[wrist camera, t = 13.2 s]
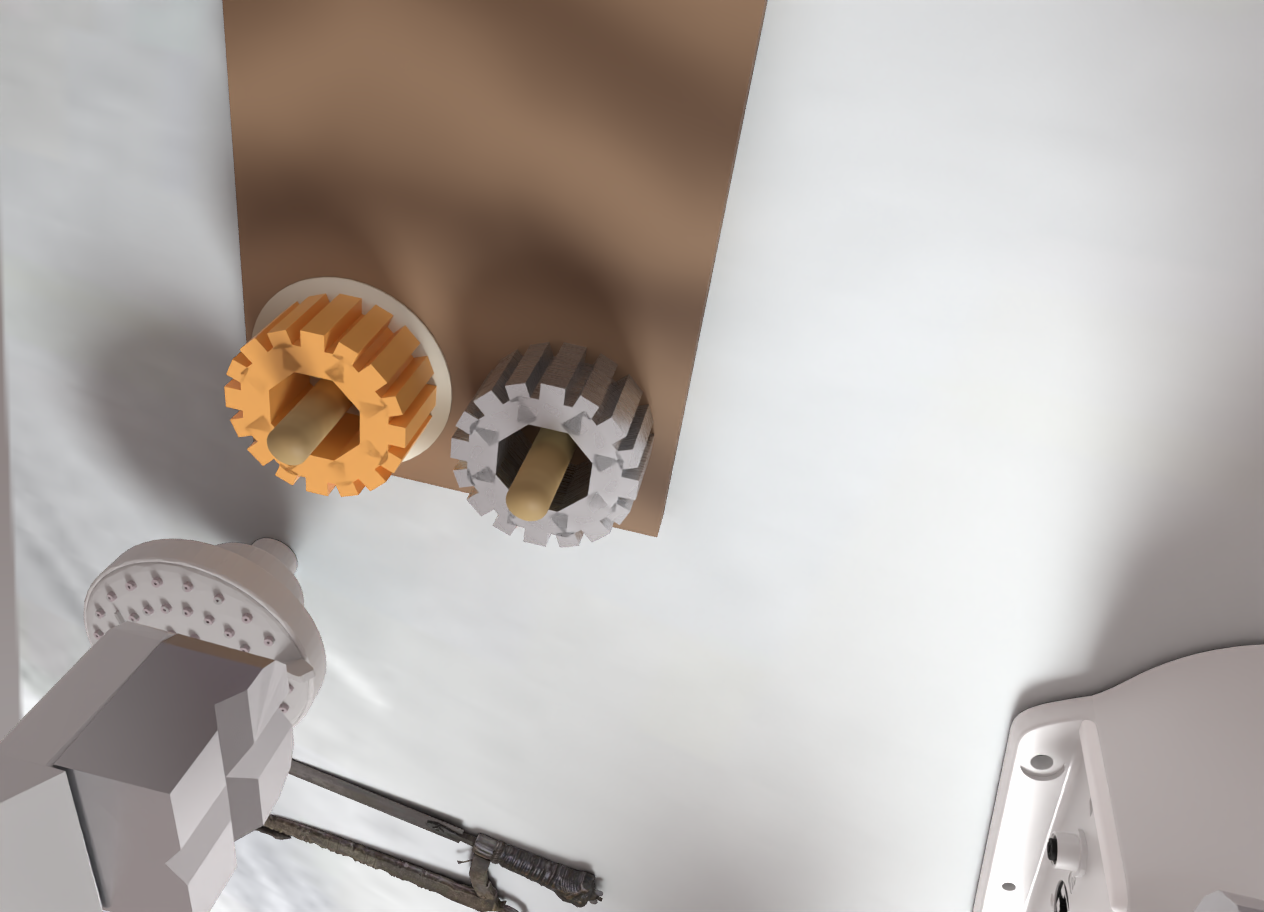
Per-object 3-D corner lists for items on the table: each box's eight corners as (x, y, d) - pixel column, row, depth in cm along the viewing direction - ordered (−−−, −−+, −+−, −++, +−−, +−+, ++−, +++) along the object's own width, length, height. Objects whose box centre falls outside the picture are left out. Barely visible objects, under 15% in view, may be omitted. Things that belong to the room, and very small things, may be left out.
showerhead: (343, 769, 40) (121, 755, 42) (411, 644, 46) (214, 637, 48) (270, 578, 35) (25, 572, 38) (357, 466, 41) (141, 467, 44)
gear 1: (432, 468, 39) (403, 514, 36) (271, 431, 39) (231, 473, 37) (439, 315, 35) (407, 354, 33) (262, 276, 36) (217, 311, 33)
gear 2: (639, 515, 38) (623, 565, 36) (473, 477, 39) (446, 523, 36) (667, 365, 35) (652, 408, 32) (484, 324, 35) (455, 364, 33)
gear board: (663, 514, 40) (632, 625, 34) (272, 423, 41) (182, 516, 36) (778, -52, 29) (758, -19, 23) (238, -153, 30) (102, -143, 25)
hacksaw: (612, 872, 53) (606, 898, 52) (557, 971, 59) (551, 997, 57) (169, 703, 52) (152, 725, 51) (157, 819, 58) (142, 842, 57)
